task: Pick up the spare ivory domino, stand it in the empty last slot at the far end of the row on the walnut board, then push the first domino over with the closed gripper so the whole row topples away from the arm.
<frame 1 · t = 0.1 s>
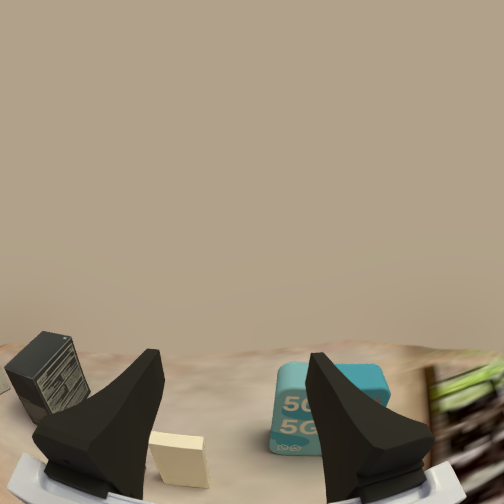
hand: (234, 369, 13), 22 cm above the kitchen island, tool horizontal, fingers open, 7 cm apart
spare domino: (187, 480, 23), on the kitchen island
data package: (316, 444, 29), on the kitchen island
small box: (62, 408, 29), on the kitchen island
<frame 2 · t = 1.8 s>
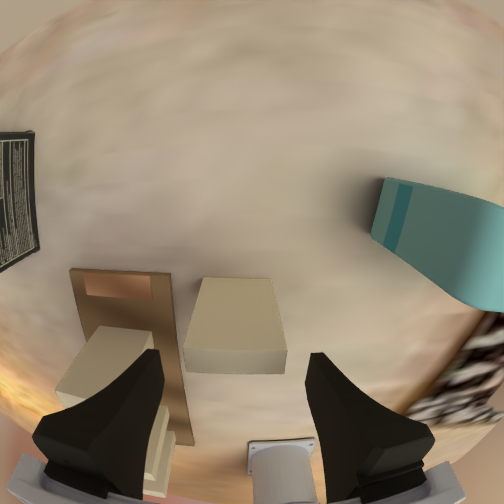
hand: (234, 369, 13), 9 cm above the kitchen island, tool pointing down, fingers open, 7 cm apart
domino 1: (154, 432, 26), resting on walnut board
domino 2: (145, 407, 25), resting on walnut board
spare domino: (237, 287, 21), on the kitchen island
data package: (426, 221, 20), on the kitchen island
domino 4: (125, 336, 22), resting on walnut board
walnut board: (138, 377, 24), on the kitchen island
small box: (14, 193, 18), on the kitchen island
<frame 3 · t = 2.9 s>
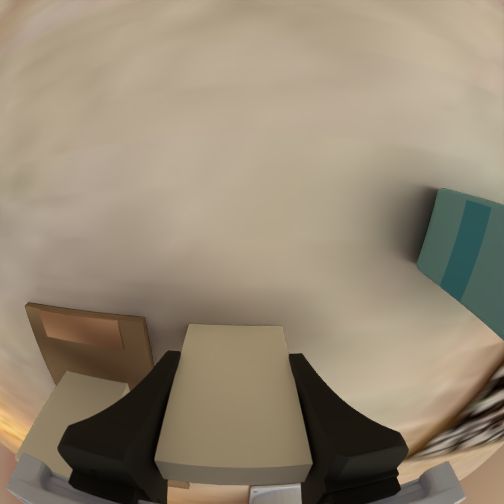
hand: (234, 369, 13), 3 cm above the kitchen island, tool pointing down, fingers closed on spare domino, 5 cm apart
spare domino: (235, 337, 15), on the kitchen island, touching gripper
data package: (476, 243, 14), on the kitchen island
domino 4: (98, 385, 16), resting on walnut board
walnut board: (119, 425, 18), on the kitchen island
when the fingers open (4 cm above the kitchen island, at t = 6.9 s): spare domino stays where it is, resting on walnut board.
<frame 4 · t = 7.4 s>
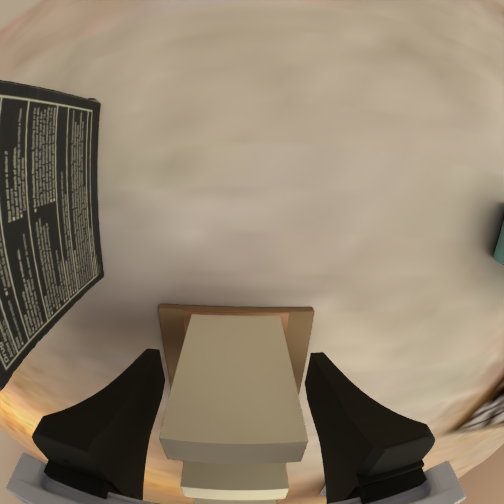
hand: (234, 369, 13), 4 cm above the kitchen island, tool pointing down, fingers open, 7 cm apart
domino 3: (235, 423, 19), resting on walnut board
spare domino: (235, 327, 16), point 1 cm above the kitchen island, touching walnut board
domino 4: (235, 384, 18), resting on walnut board
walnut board: (235, 423, 20), on the kitchen island
small box: (58, 192, 14), on the kitchen island
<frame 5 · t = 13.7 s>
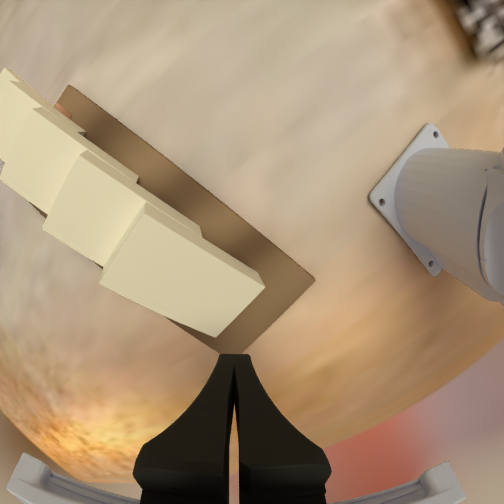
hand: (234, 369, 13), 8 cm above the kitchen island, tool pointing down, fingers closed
domino 1: (236, 305, 19), point 1 cm above the kitchen island, tilted 71°, touching domino 2
domino 3: (115, 211, 16), point 1 cm above the kitchen island, tilted 72°, touching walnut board
domino 2: (176, 261, 17), point 1 cm above the kitchen island, tilted 72°, touching domino 1, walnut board
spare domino: (38, 137, 15), on the kitchen island, tilted 90°, touching domino 4
domino 4: (63, 163, 15), point 1 cm above the kitchen island, tilted 84°, touching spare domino, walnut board
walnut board: (143, 225, 18), on the kitchen island
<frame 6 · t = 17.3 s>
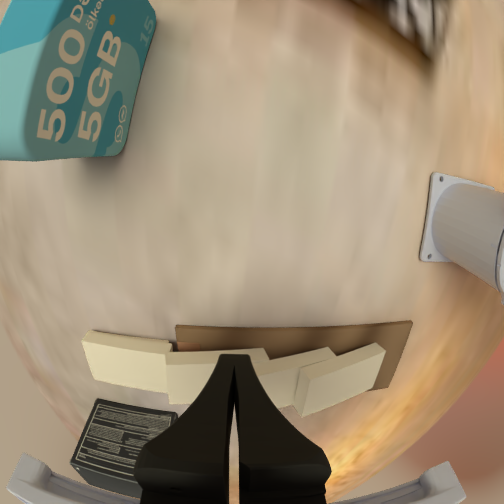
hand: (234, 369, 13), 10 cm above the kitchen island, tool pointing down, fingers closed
domino 1: (374, 366, 25), point 1 cm above the kitchen island, tilted 71°, touching domino 2, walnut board
domino 3: (261, 373, 24), point 1 cm above the kitchen island, tilted 76°, touching domino 2, domino 4, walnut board
domino 2: (327, 371, 24), point 1 cm above the kitchen island, tilted 75°, touching domino 1, domino 3
data package: (116, 81, 17), on the kitchen island
domino 4: (172, 370, 23), point 2 cm above the kitchen island, tilted 90°, touching domino 3, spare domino
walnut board: (298, 365, 26), on the kitchen island
small box: (139, 419, 28), on the kitchen island
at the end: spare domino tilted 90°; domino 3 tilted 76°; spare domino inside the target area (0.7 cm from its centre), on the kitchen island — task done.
